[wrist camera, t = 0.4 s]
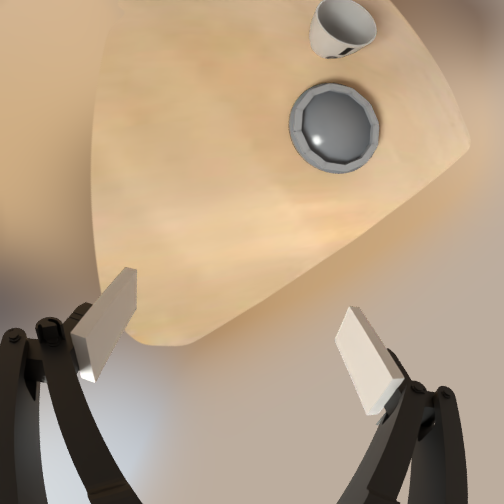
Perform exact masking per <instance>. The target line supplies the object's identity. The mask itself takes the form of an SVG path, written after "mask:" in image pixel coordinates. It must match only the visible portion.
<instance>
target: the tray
mask: <svg viewBox="0 0 504 504" xmlns="http://www.w3.org/2000/svg"><path fill="white" fill-rule="evenodd" d="M378 124H379V122H378V120H377V117H376V115H375V113H374V110H373V108H372V106H371V104H370V103H369V102H368V101H367V100H366V99H365V98H364V97H363V96H362V95H360V94H359V93H358V92H357V91H355V90H354V89H352V88H350V87H347V86H345V85H341V84H336V83H324V84H319V85H316V86H313V87H311V88H309V89H308V90H306V91H305V92H304V93H303V94H301V95H300V97H299V98H298V99H297V100H296V102H295V103H294V105H293V107H292V109H291V112H290V116H289V133H290V137H291V140H292V143H293V145H294V147H295V149H296V150H297V152H298V153H299V155H300V156H301V157H302V158H303V159H304V160H305V161H306V162H307V163H309V164H310V165H312V166H313V167H315V168H317V169H319V170H322V171H325V172H329V173H337V174H341V173H348V172H352V171H355V170H357V169H358V168H360V167H362V166H363V165H364V164H365V163H367V161H368V160H369V159H370V158H371V157H372V155H373V153H374V151H375V150H376V148H377V146H378V137H379V125H378Z"/></svg>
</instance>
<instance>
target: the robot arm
mask: <svg viewBox="0 0 504 504" xmlns="http://www.w3.org/2000/svg"><path fill="white" fill-rule="evenodd" d="M136 293H137V270H136V269H132V268H127V267H125V268H124V269H123V270H122V271H121V273H120V274H119V275H118V276H117V277H116V278H115V279H114V281H113V282H112V283H111V284H110V285H109V286H108V287H107V289H106V290H105V291H104V292H103V293H102V294H101V296H100V297H99V298H98V299H97V300H96V302H95V303H94V304H90V303H86V302H85V303H84V304H82V305H80V306H78V307H77V308H76V309H75V310H74V312H73V313H72V314H71V315H70V317H69V318H68V319H67V320H66V321H65V322H64V323H63V324H62V322H61V321H60V320H59V319H57V318H54V317H46V318H43V319H41V320H40V321H38V322H37V324H36V327H35V329H36V333H37V336H38V339H30V338H27V336H26V333H25V331H24V330H22V329H20V328H12V329H9V330H8V331H6V332H5V333H4V335H3V338H2V341H1V344H0V504H48V502H47V497H46V492H45V486H44V479H43V472H42V463H41V452H40V436H39V396H40V382H44V383H47V384H48V389H49V393H50V397H51V400H52V404H53V407H54V411H55V414H56V417H57V420H58V424H59V426H60V430H61V432H62V435H63V438H64V440H65V443H66V446H67V449H68V451H69V454H70V456H71V458H72V461H73V463H74V465H75V467H76V470H77V472H78V474H79V476H80V478H81V480H82V482H83V484H84V486H85V488H86V491H87V494H88V498H89V500H90V502H91V504H142V502H141V501H140V500H139V498H138V497H137V495H136V494H135V492H134V491H133V489H132V488H131V486H130V485H129V484H128V482H127V481H126V479H125V478H124V476H123V474H122V473H121V471H120V469H119V468H118V466H117V464H116V463H115V461H114V459H113V457H112V455H111V453H110V451H109V449H108V447H107V446H106V444H105V442H104V440H103V438H102V436H101V434H100V432H99V429H98V427H97V425H96V423H95V420H94V418H93V416H92V414H91V411H90V409H89V407H88V404H87V402H86V399H85V397H84V394H83V391H82V389H81V386H80V383H79V380H78V377H77V373H78V371H80V374H81V377H82V378H84V379H86V380H89V381H92V382H96V381H97V379H98V377H99V375H100V373H101V371H102V369H103V367H104V365H105V364H106V362H107V360H108V358H109V356H110V354H111V353H112V351H113V349H114V347H115V345H116V343H117V342H118V340H119V338H120V336H121V334H122V333H123V331H124V329H125V327H126V326H127V324H128V322H129V320H130V319H131V317H132V315H133V314H134V312H135V310H136ZM335 342H336V345H337V347H338V349H339V351H340V354H341V356H342V358H343V361H344V363H345V365H346V367H347V370H348V372H349V374H350V377H351V379H352V381H353V384H354V386H355V389H356V391H357V393H358V396H359V398H360V400H361V403H362V405H363V408H364V410H365V413H366V415H374V414H379V412H380V411H381V410H382V409H383V407H384V408H385V409H386V413H385V414H384V415H383V417H382V418H381V419H380V420H379V421H378V423H377V424H376V425H378V424H379V423H380V424H379V427H378V429H377V431H376V433H375V435H374V437H373V440H372V442H371V444H370V446H369V448H368V450H367V452H366V454H365V456H364V458H363V460H362V462H361V464H360V465H359V467H358V469H357V471H356V473H355V474H354V476H353V478H352V480H351V481H350V483H349V485H348V486H347V488H346V490H345V491H344V493H343V494H342V496H341V498H340V499H339V501H338V502H337V504H400V502H397V500H396V499H397V496H398V494H399V491H400V489H401V486H402V484H403V481H404V478H405V476H406V473H407V470H408V466H409V464H410V460H411V458H412V463H411V477H410V489H409V497H408V504H468V488H467V469H466V459H465V449H464V442H463V435H462V428H461V423H460V418H459V412H458V407H457V402H456V398H455V394H454V393H453V391H452V390H451V389H450V388H448V387H446V386H440V387H439V388H438V389H437V391H436V392H429V391H427V390H426V388H425V387H424V386H423V384H421V383H420V382H417V381H412V380H411V379H410V377H409V375H408V374H407V372H406V371H405V369H404V367H403V366H402V364H401V363H400V361H399V360H398V358H397V356H396V355H395V354H394V353H393V352H392V351H391V350H390V349H388V348H386V347H385V346H384V344H383V342H382V341H381V339H380V338H379V336H378V335H377V333H376V332H375V330H374V329H373V327H372V326H371V324H370V323H369V321H368V320H367V318H366V317H365V315H364V314H363V312H362V311H361V309H360V308H359V307H353V306H349V308H348V310H347V312H346V315H345V317H344V320H343V322H342V324H341V327H340V329H339V331H338V333H337V335H336V338H335ZM434 423H435V425H434Z"/></svg>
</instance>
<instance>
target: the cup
mask: <svg viewBox="0 0 504 504" xmlns="http://www.w3.org/2000/svg"><path fill="white" fill-rule="evenodd" d="M376 34H377V27H376V23H375V21H374V19H373V17H372V16H371V14H370V13H369V12H368V11H367V10H366V9H365V8H364V7H362V6H361V5H360V4H358V3H356V2H354V1H352V0H323V1H321V2H320V3H319V5H318V6H317V9H316V11H315V14H314V16H313V19H312V21H311V25H310V32H309V40H310V45H311V48H312V50H313V51H314V52H315V53H316V54H317V55H318V56H320V57H322V58H326V59H334V58H341V57H344V56H347V55H349V54H352V53H355V52H356V51H358V50H360V49H361V48H363V47H365V46H366V45H368V44H370V43H371V42H372V41H373V40H374V39H375V37H376Z"/></svg>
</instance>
